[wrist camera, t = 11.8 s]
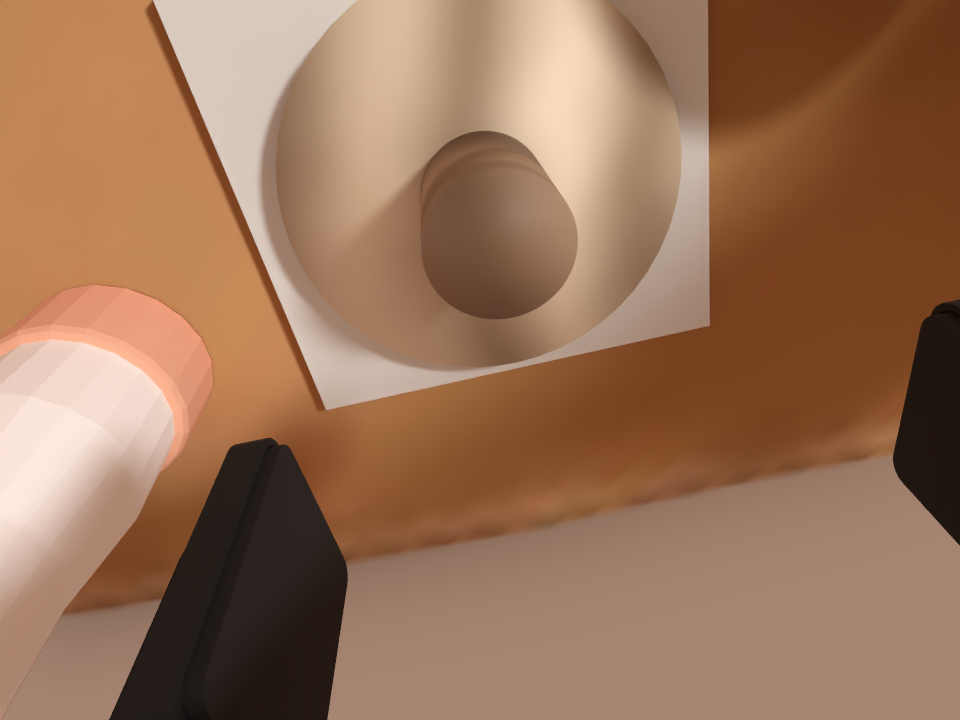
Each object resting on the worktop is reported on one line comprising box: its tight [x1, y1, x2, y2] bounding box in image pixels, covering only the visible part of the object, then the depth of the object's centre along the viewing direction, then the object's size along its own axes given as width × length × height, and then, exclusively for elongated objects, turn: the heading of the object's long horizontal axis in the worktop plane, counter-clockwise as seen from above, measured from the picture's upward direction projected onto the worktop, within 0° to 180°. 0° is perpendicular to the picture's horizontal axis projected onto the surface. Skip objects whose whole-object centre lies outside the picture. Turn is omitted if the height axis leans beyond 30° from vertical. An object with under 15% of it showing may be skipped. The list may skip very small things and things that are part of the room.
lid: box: [276, 0, 682, 367], centre depth 20 cm, size 14×14×6 cm
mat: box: [153, 0, 710, 410], centre depth 23 cm, size 17×16×1 cm
